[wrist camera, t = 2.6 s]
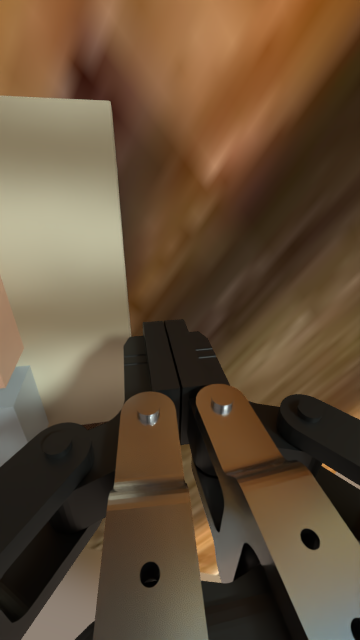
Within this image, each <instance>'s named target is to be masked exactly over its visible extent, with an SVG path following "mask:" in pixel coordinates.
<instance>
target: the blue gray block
mask: <svg viewBox="0 0 360 640" xmlns="http://www.w3.org/2000/svg"><path fill="white" fill-rule="evenodd" d="M48 424H49V422H48V419H47V416H46V413H45V410H44V407H43V404H42V401H41V398H40V395H39V392H38V389H37V386H36V382H35V379H34V376H33V373H32V370H31V367H30V365H29V366H18V367H15V369H14V371H13V373H12V375H11V378H10V380H9V382H8V384H7V386H6V388H0V467H1V466H2V465H3V464H4V463H5V462H7V461H8V460H9V459H10V458H11V457H12V456H13V455H14V454H16V453H17V452H18V451H19V450H20V449H21V448H22V447H24V446H25V445H26V444H27V443H28V442H29V441H30V440H32V439H33V438H34V437H35V436H36V435H37V434H39V433H40V432H41V431H43V430H44V429H46V428H48Z"/></svg>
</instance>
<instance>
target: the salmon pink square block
mask: <svg viewBox="0 0 360 640" xmlns="http://www.w3.org/2000/svg"><path fill="white" fill-rule="evenodd" d="M23 350H24V346H23V343H22V340H21V337H20V334H19V331H18V328H17V325H16V321H15V318H14V315H13V312H12V309H11V306H10V303H9V300H8V297H7V294H6V291H5V288H4V285H3V282H2V279H1V276H0V388H6V386H7V384H8V382H9V380H10V378H11V375H12V373H13V371H14V369H15V367H16V365H17V363H18V360H19V358H20V356H21V354H22V352H23Z"/></svg>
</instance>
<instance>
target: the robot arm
mask: <svg viewBox="0 0 360 640" xmlns="http://www.w3.org/2000/svg"><path fill="white" fill-rule="evenodd" d="M123 350H124V397H125V399H124V404H123V407H122V409H121V410H120V412H119V413H118V414H117V415H116V416H115V417H114V418H113V419H111V420H110V421H108V422H107V423H104V424H102V425H100V426H97V427H95V428H93V429H90V430H87V429H86V428H85V427H83V426H82V425H80V424H77V423H72V422H65V423H59V424H55V425H52V426H50V427H48V428H46V429H44V430H43V431H41V432H40V433H39V434H37V435H36V436H35V437H34V438H33V439H32V440H30V441H29V442H28V443H27V444H26V445H25V446H24V447H22V448H21V449H20V450H19V451H18V452H17V453H16V454H14V455H13V456H12V457H11V458H10V459H9V460H8V461H7V462H5V463H4V464H3V465H2V466H1V467H0V640H21V639H22V637H23V636H24V634H25V633H26V631H27V630H28V629H29V627H30V626H31V624H32V623H33V621H34V620H35V618H36V617H37V615H38V614H39V613H40V611H41V610H42V608H43V607H44V605H45V604H46V602H47V601H48V599H49V598H50V597H51V595H52V594H53V592H54V591H55V589H56V588H57V586H58V585H59V584H60V582H61V581H62V579H63V578H64V576H65V575H66V573H67V572H68V570H69V569H70V567H71V566H72V565H73V563H74V562H75V560H76V558H77V557H78V556H79V554H80V553H81V551H82V550H83V549H84V547H85V546H86V544H87V543H88V541H89V540H90V538H91V537H92V536H93V534H94V533H95V531H96V530H97V528H98V527H99V525H100V523H101V521H102V519H103V518H105V517H106V521H105V531H104V540H103V549H102V559H101V569H100V578H99V587H98V597H97V606H96V615H95V621H94V622H93V623H91V624H90V625H89V626H88V627H87V628H86V629H85V630H84V631H83V632H82V633H81V634H80V635H79V636H78V637H77V638H76V639H75V640H360V490H359V489H358V488H356V487H355V486H353V485H351V484H349V483H348V482H346V481H345V480H343V479H341V478H340V477H338V476H337V475H335V474H334V473H332V472H330V471H329V470H327V469H325V468H324V467H322V466H321V465H322V463H324V464H325V465H327V466H328V467H330V468H332V469H333V470H335V471H337V472H338V473H340V474H342V475H343V476H345V477H347V478H348V479H350V480H351V481H353V482H355V483H356V484H358V485H360V420H359V419H357V418H355V417H353V416H351V415H349V414H347V413H345V412H343V411H341V410H339V409H337V408H335V407H332V406H330V405H328V404H326V403H324V402H322V401H320V400H318V399H316V398H314V397H311V396H307V395H301V394H295V395H290V396H288V397H286V398H285V399H284V400H283V401H282V402H281V405H280V407H277V406H269V405H262V404H256V403H253V402H250V401H248V400H247V399H246V397H245V396H244V395H243V394H242V393H241V392H240V391H239V390H238V389H236V388H234V387H232V386H230V384H229V382H228V380H227V378H226V376H225V374H224V372H223V370H222V368H221V365H220V363H219V361H218V359H217V357H216V355H215V353H214V351H213V350H212V347H211V344H210V342H209V340H208V338H206V337H205V336H204V335H202V334H201V333H200V332H199V331H197V332H189V331H188V329H187V326H186V324H185V321H184V320H183V319H181V320H167V321H164V322H163V321H154V322H143V336H135V337H129V338H128V340H127V341H126V343H125V344H124V346H123ZM179 440H180V441H179ZM184 444H190V449H191V453H192V461H191V467H192V471H193V475H194V478H195V481H196V484H197V488H198V491H199V494H200V497H201V500H202V504H203V507H204V510H205V513H206V516H207V520H208V523H209V526H210V529H211V533H212V536H213V540H214V545H215V553H216V560H217V566H218V571H219V575H220V579H221V582H222V583H216V582H207V581H201V580H200V571H199V564H198V556H197V549H196V541H195V533H194V526H193V518H192V511H191V503H190V496H189V490H188V486H187V483H185V480H184V474H183V466H182V457H181V449H180V445H184Z"/></svg>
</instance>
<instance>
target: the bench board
mask: <svg viewBox="0 0 360 640" xmlns="http://www.w3.org/2000/svg"><path fill="white" fill-rule="evenodd" d="M0 276H1V279H2V282H3V285H4V288H5V291H6V294H7V297H8V300H9V303H10V306H11V309H12V312H13V315H14V318H15V321H16V325H17V328H18V331H19V334H20V337H21V340H22V343H23V346H24V350H23V352H22V354H21V356H20V358H19V360H18V363H17V365H16V367H18V366H29V365H30V367H31V370H32V373H33V376H34V379H35V382H36V386H37V389H38V392H39V395H40V398H41V401H42V404H43V407H44V410H45V413H46V416H47V419H48V422H49V424H48V427H50V426H52V425H55V424H59V423H65V422H72V423H77V424H80V425H84V424H92V423H99V422H107V421H110V420H111V419H113V418H114V417H115V416H116V415H117V414H118V413H119V412H120V410H121V409H122V407H123V404H124V399H125V397H124V350H123V346H124V344H125V343H126V341H127V340H128V338H129V337H131V330H130V318H129V307H128V295H127V283H126V271H125V259H124V247H123V235H122V224H121V212H120V200H119V188H118V176H117V164H116V152H115V141H114V129H113V117H112V108H111V103H110V101H100V100H79V99H58V98H37V97H16V96H0Z"/></svg>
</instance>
